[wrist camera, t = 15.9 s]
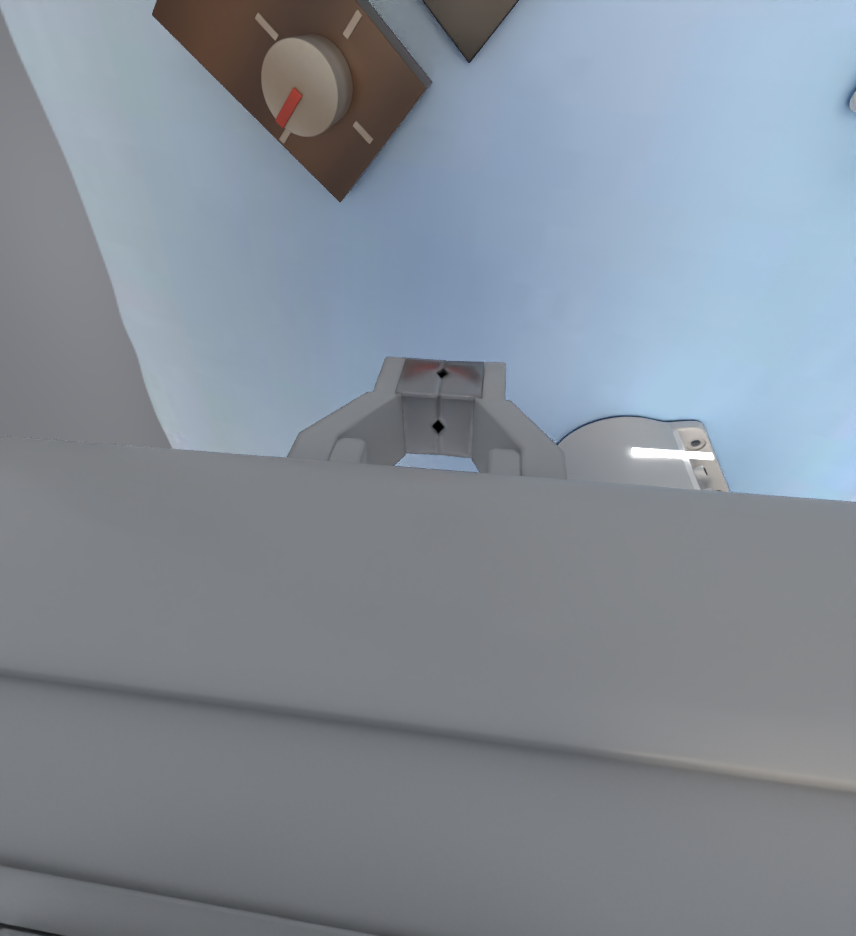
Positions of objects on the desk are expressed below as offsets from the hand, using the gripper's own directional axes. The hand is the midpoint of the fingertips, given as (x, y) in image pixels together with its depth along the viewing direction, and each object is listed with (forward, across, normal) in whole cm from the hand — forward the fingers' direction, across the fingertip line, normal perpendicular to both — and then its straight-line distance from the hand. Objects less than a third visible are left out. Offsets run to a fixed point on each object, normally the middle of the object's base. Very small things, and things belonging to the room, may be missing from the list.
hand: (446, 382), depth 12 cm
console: (+29, +12, -5) cm, 32 cm away
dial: (+26, +11, -3) cm, 28 cm away
